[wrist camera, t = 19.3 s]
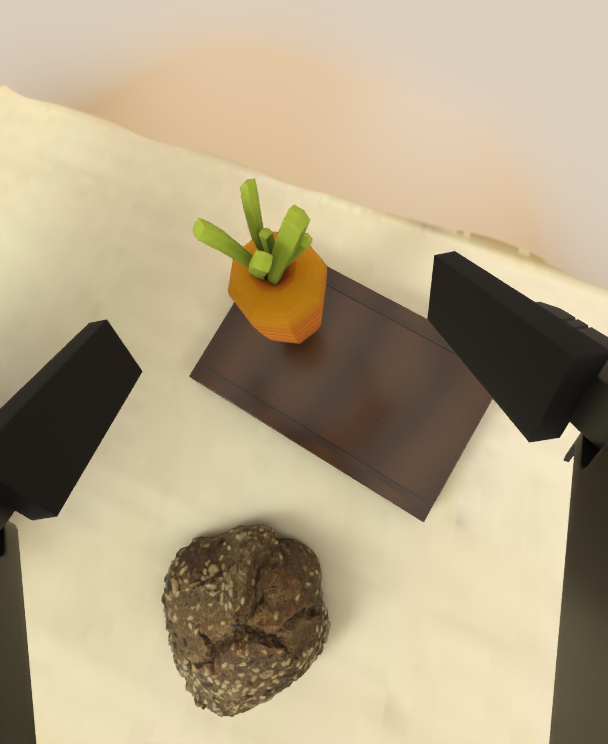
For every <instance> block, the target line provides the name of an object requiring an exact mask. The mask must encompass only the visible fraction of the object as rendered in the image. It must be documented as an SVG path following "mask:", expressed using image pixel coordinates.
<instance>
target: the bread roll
mask: <svg viewBox="0 0 608 744" xmlns="http://www.w3.org/2000/svg"><path fill="white" fill-rule="evenodd" d="M277 536H278V534H277V533H275V532H274V531H273V529H271V528H269V527H266V526H259V525H255V526H252V527H242V526H239V527H237V528H236V529H231V530H230V531H229V532H227V533H225V534H223V535H221V536H218V537H212V538H205V537H199V538H195V539H193V542H192V543H191V544H190V546H188V547H184V548H181V549H180V550H179V551H178V552H177V554H176V558H175V560H173V561H172V562H171V565H170V568H169V571H168V573H167V575H166V576H165V579H164V582H166V585H165V589H164V594H163V595H162V600H161V601H162V603H163V604H164V609H163V611H164V612H165V617H166V630H167V631H168V632H169V637H168V638H169V639H168V641H169V645H170V646H171V651H172V652H173V653H174V655H173V658H174V663H175V664H176V668H177V670H178V671H179V673H180V675H181V676H182V677H185V679H186V687H185V691H188V692H191V693H192V696H193V697H194V701H195V705H196V706H197V707H200V706H201V708H202V709H203V710H204V709H205V707H207V708H208V709H209V710H210V711H212V712H214V713H216V714H218V716H220V717H223V716H231V717H233V716H234V715H236V714H239V713H243V712H245V711H248V710H250V709H252V708H254V707H255V706H257V705H258V704H260V703H265V702H267V701H269V700H271V699H272V698H273V696H274V695H275V694H277V693H279V692H281V691H282V690H283V689H285V688H286V687H289V686H290V685H291V684H292V682H293V681H296V680H298V679H299V678H300V677H301V676H302V675H303V674H304V673H305V672H306V671H307V669H309V667H310V665H311V664H312V663H313V662H314V661H315V660H316V659H317V657H318V655H320V654H321V653H322V652H323V643H326V641H327V637H328V633H329V628H330V625H331V624H330V621H329V618H328V612H327V609H326V607H325V604H324V601H323V593H322V590H321V587H320V586H321V578H322V574H321V569H320V565H319V560H318V558H317V557H316V555H315V554H314V552H313V551H311V550H310V549H309V548H308V547H306V546H305V545H303V544H301V543H300V542H298V541H296V540H294V539H289V538H288V539H282V540H280V539H279V538H278V537H277Z"/></svg>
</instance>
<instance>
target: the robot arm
mask: <svg viewBox="0 0 608 744" xmlns="http://www.w3.org/2000/svg"><path fill="white" fill-rule="evenodd" d="M428 320H429V321H430V323H431V324H432V325H433V326H434V328H435V329H436V330H437V331H438V332H439V334H440V335H441V336H442V337H443V338H444V340H445V341H446V342H447V343H448V344H449V346H450V347H451V348H452V349H453V351H454V352H455V353H456V354H457V355H458V357H459V358H460V359H461V360H462V361H463V363H464V364H465V365H466V366H467V368H468V369H469V370H470V371H471V372H472V374H473V375H474V376H475V377H476V378H477V380H478V381H479V382H480V383H481V385H482V386H483V387H484V388H485V389H486V391H487V392H488V393H489V394H490V395H491V397H492V398H493V399H494V400H495V402H496V403H497V404H498V405H499V406H500V408H501V409H502V410H503V411H504V412H505V414H506V415H507V416H508V417H509V418H510V420H511V421H512V422H513V423H514V425H515V426H516V427H517V428H518V429H519V431H520V432H521V433H522V434H523V435H524V437H525V438H526V439H527V440H528V442H535V441H542V440H548V439H554V438H560V436H561V435H562V433H563V432H564V430H565V428H566V427H567V425H568V423H569V422H571V423H572V424H573V425H574V426H575V427H576V428H577V429H578V430H579V431H580V432H581V433H580V435H579V436H578V438H577V439H576V441H575V442H574V444H573V445H572V447H571V448H570V449H569V451H568V452H567V454H566V456H565V458H564V461H567V462H569V461H570V460H571V458H572V457H573V456H574V464H573V475H572V487H571V499H570V510H569V522H568V533H567V545H566V556H565V568H564V579H563V591H562V603H561V614H560V626H559V637H558V649H557V660H556V672H555V684H554V695H553V707H552V718H551V730H550V741H549V744H608V337H607V336H605V335H603V334H602V333H600V332H598V331H597V330H595V329H593V328H592V327H591V328H588V325H587V324H585V323H584V322H582V321H580V320H579V319H578V320H575V317H574V316H572V315H570V314H569V313H567V312H565V311H564V310H562V309H560V308H557V307H554V306H551V305H548V304H545V303H542V302H534V301H532V300H531V299H529V298H528V297H526V296H525V295H523V294H521V293H520V292H518V291H517V290H515V289H514V288H512V287H510V286H509V285H507V284H506V283H504V282H503V281H501V280H499V279H498V278H496V277H495V276H493V275H492V274H490V273H488V272H487V271H485V270H484V269H482V268H481V267H479V266H477V265H476V264H474V263H473V262H471V261H470V260H468V259H466V258H465V257H463V256H462V255H460V254H459V253H457V252H455V251H453V252H448V253H443V254H438V255H434V264H433V273H432V282H431V291H430V300H429V309H428ZM141 373H142V370H141V368H140V367H139V366H138V364H137V363H136V361H135V360H134V358H133V357H132V355H131V354H130V352H129V351H128V349H127V348H126V347H125V345H124V344H123V342H122V341H121V339H120V338H119V336H118V335H117V333H116V332H115V330H114V329H113V328H112V326H111V325H110V323H109V322H108V320H102V321H97V322H91V323H89V324H88V325H87V326H85V327H84V328H83V329H82V330H81V331H80V332H79V333H78V334H77V335H76V336H75V337H74V338H73V339H72V340H71V341H70V342H69V343H68V344H67V345H66V346H65V347H64V348H63V349H62V350H61V351H60V352H59V353H57V354H56V355H55V356H54V357H53V358H52V359H51V360H50V361H49V362H48V363H47V364H46V365H45V366H44V367H43V368H42V369H41V370H40V371H39V372H38V373H37V374H36V375H35V376H34V377H33V378H32V379H31V380H30V381H28V382H27V383H26V384H25V385H24V386H23V387H22V388H21V389H20V390H19V391H18V392H17V393H16V394H15V395H14V396H13V397H12V398H11V399H10V400H9V401H8V402H7V403H6V404H5V405H4V406H3V407H2V408H1V409H0V744H36V735H35V724H34V712H33V701H32V689H31V678H30V667H29V655H28V644H27V632H26V621H25V609H24V598H23V586H22V575H21V563H20V552H19V540H18V529H17V527H16V526H15V524H13V523H11V522H9V521H8V520H9V518H10V517H11V516H12V514H13V513H14V511H17V512H18V513H20V514H22V515H24V516H25V517H27V518H29V519H31V520H37V519H44V518H50V517H57V516H58V514H59V512H60V510H61V509H62V507H63V505H64V504H65V502H66V500H67V499H68V497H69V495H70V494H71V492H72V490H73V488H74V487H75V485H76V483H77V482H78V480H79V478H80V477H81V475H82V473H83V471H84V470H85V468H86V466H87V465H88V463H89V461H90V460H91V458H92V456H93V455H94V453H95V451H96V449H97V448H98V446H99V444H100V443H101V441H102V439H103V438H104V436H105V434H106V432H107V431H108V429H109V427H110V426H111V424H112V422H113V421H114V419H115V417H116V416H117V414H118V412H119V410H120V409H121V407H122V405H123V404H124V402H125V400H126V399H127V397H128V395H129V393H130V392H131V390H132V388H133V387H134V385H135V383H136V382H137V380H138V378H139V377H140V375H141Z"/></svg>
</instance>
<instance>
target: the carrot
mask: <svg viewBox="0 0 608 744" xmlns="http://www.w3.org/2000/svg"><path fill="white" fill-rule="evenodd" d="M240 189H241V198H242V203H243V208H244V212H245V216H246V220H247V224H248V227H249V230H250V234H251V237H252V240H251V241H250V242H249V243H247V244H246V245H245V246H244V247H242V246H241V245H240V244H239V243H237V242H236V241H235V240H234V239H233V238H231V237H230V236H229V235H228V234H227V233H225V232H224V231H223V230H221V229H220V228H218V227H216V226H215V225H213V224H212V223H210V222H208V221H206V220H203V219H201V218H198V220H197V221H196V222H195V224H194V228H193V233H194V236H195V237H196V238H197V239H198V240H199V241H201V242H203V243H205V244H206V245H208V246H211V247H213V248H215V249H217V250H219V251H221V252H222V253H224V254H226V255H227V256H229V257H231V258H233V263H232V269H231V275H230V282H229V288H228V293H229V295H230V297H231V298H232V299H233V301H234V302H235V303H236V305H237V306H238V307H239V309H240V310H241V311H242V313H243V314H244V315H245V316H246V318H247V319H248V320H249V322H250V323H251V324H252V326H253V327H254V328H256V329H257V330H258V331H259V332H260V333H261V334H263V335H264V336H265V337H267V338H268V339H270V340H274V341H281V342H289V343H298V344H300V343H301V342H303V341H304V340H305V339H307V338H308V337H309V336H311V335H312V334H313V333H314V332H316V331H317V330H318V328H319V327H320V326H321V320H322V312H323V305H324V297H325V289H326V278H327V266H326V264H325V263H324V262H323V260H322V259H321V258H320V257H319V256H318V254H317V253H316V252H315V251H314V250H313V248H312V247H311V246H310V244H311V242H312V238H311V236H310V235H309V234H308V233H305V231H306V228H307V226H308V224H309V221H310V219H309V217H308V216H307V214H306V213H305V211H304V210H303V209H301V208H299V207H297V206H295V205H293V206H292V207H291V208H290V209H289V210H288V212H287V214H286V216H285V218H284V220H283V223H282V225H281V228H280V230H279V232H272V231H271V230H270V229H268V228H264V229H263V223H262V217H261V211H260V204H259V198H258V191H257V186H256V182H255V179H248V180H246V181H245V182H244V183H243V185H242V186H241V187H240Z"/></svg>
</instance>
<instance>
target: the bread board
mask: <svg viewBox="0 0 608 744" xmlns="http://www.w3.org/2000/svg"><path fill="white" fill-rule="evenodd" d="M189 377H191V378H192V379H194V380H195V381H197V382H199V383H200V384H202V385H203V386H205V387H207V388H208V389H210V390H211V391H213V392H215V393H216V394H218V395H220V396H221V397H223V398H224V399H226V400H228V401H229V402H231V403H232V404H234V405H236V406H237V407H239V408H240V409H242V410H244V411H245V412H247V413H249V414H250V415H252V416H253V417H255V418H257V419H258V420H260V421H261V422H263V423H265V424H266V425H268V426H269V427H271V428H273V429H274V430H276V431H278V432H279V433H281V434H282V435H284V436H286V437H287V438H289V439H290V440H292V441H294V442H295V443H297V444H298V445H300V446H302V447H303V448H305V449H307V450H308V451H310V452H311V453H313V454H315V455H316V456H318V457H319V458H321V459H323V460H324V461H326V462H327V463H329V464H331V465H332V466H334V467H335V468H337V469H339V470H340V471H342V472H344V473H345V474H347V475H348V476H350V477H352V478H353V479H355V480H356V481H358V482H360V483H361V484H363V485H364V486H366V487H368V488H369V489H371V490H373V491H374V492H376V493H377V494H379V495H381V496H382V497H384V498H385V499H387V500H389V501H390V502H392V503H393V504H395V505H397V506H398V507H400V508H402V509H403V510H405V511H406V512H408V513H410V514H411V515H413V516H414V517H416V518H418V519H419V520H421V521H422V522H424V521H425V519H426V517H427V516H428V514H429V512H430V510H431V508H432V507H433V505H434V503H435V501H436V499H437V498H438V496H439V494H440V492H441V490H442V489H443V487H444V485H445V483H446V481H447V480H448V478H449V476H450V474H451V472H452V471H453V469H454V467H455V465H456V463H457V462H458V460H459V458H460V456H461V454H462V453H463V451H464V449H465V447H466V445H467V444H468V442H469V440H470V438H471V436H472V435H473V433H474V431H475V429H476V428H477V426H478V424H479V422H480V420H481V419H482V417H483V415H484V413H485V411H486V410H487V408H488V406H489V404H490V402H491V401H492V399H493V398H492V397H491V395H490V394H489V393H488V392H487V391H486V389H485V388H484V387H483V386H482V385H481V383H480V382H479V381H478V380H477V378H476V377H475V376H474V375H473V374H472V372H471V371H470V370H469V369H468V368H467V366H466V365H465V364H464V363H463V361H462V360H461V359H460V358H459V357H458V355H457V354H456V353H455V352H454V351H453V349H452V348H451V347H450V346H449V344H448V343H447V342H446V341H445V340H444V338H443V337H442V336H441V335H440V334H439V332H438V331H437V330H436V329H435V328H434V326H433V325H432V324H431V323H430V321H429V320H427V319H425V318H424V317H422V316H420V315H418V314H416V313H414V312H412V311H410V310H408V309H407V308H405V307H403V306H401V305H399V304H397V303H395V302H393V301H391V300H390V299H388V298H386V297H384V296H382V295H380V294H378V293H376V292H374V291H373V290H371V289H369V288H367V287H365V286H363V285H361V284H359V283H357V282H356V281H354V280H352V279H350V278H348V277H346V276H344V275H342V274H341V273H339V272H337V271H335V270H333V269H331V268H329V267H327V278H326V289H325V297H324V305H323V312H322V320H321V326H320V327H319V328H318V330H317V331H316V332H314V333H313V334H312V335H311V336H309V337H308V338H307V339H305V340H304V341H303V342H301V343H300V344H298V343H289V342H281V341H274V340H270V339H268V338H267V337H265V336H264V335H263V334H261V333H260V332H259V331H258V330H257V329H256V328H254V327H253V326H252V324H251V323H250V322H249V320H248V319H247V318H246V316H245V315H244V314H243V313H242V311H241V310H240V309H239V307H238V306H237V305H236V303H235V302H234V304H233V306H232V307H231V309H230V310H229V312H228V314H227V315H226V317H225V319H224V320H223V322H222V323H221V325H220V327H219V328H218V330H217V332H216V333H215V335H214V337H213V338H212V340H211V341H210V343H209V345H208V346H207V348H206V350H205V351H204V353H203V355H202V356H201V358H200V359H199V361H198V363H197V364H196V366H195V368H194V369H193V371H192V372H191V374H190V376H189Z"/></svg>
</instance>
